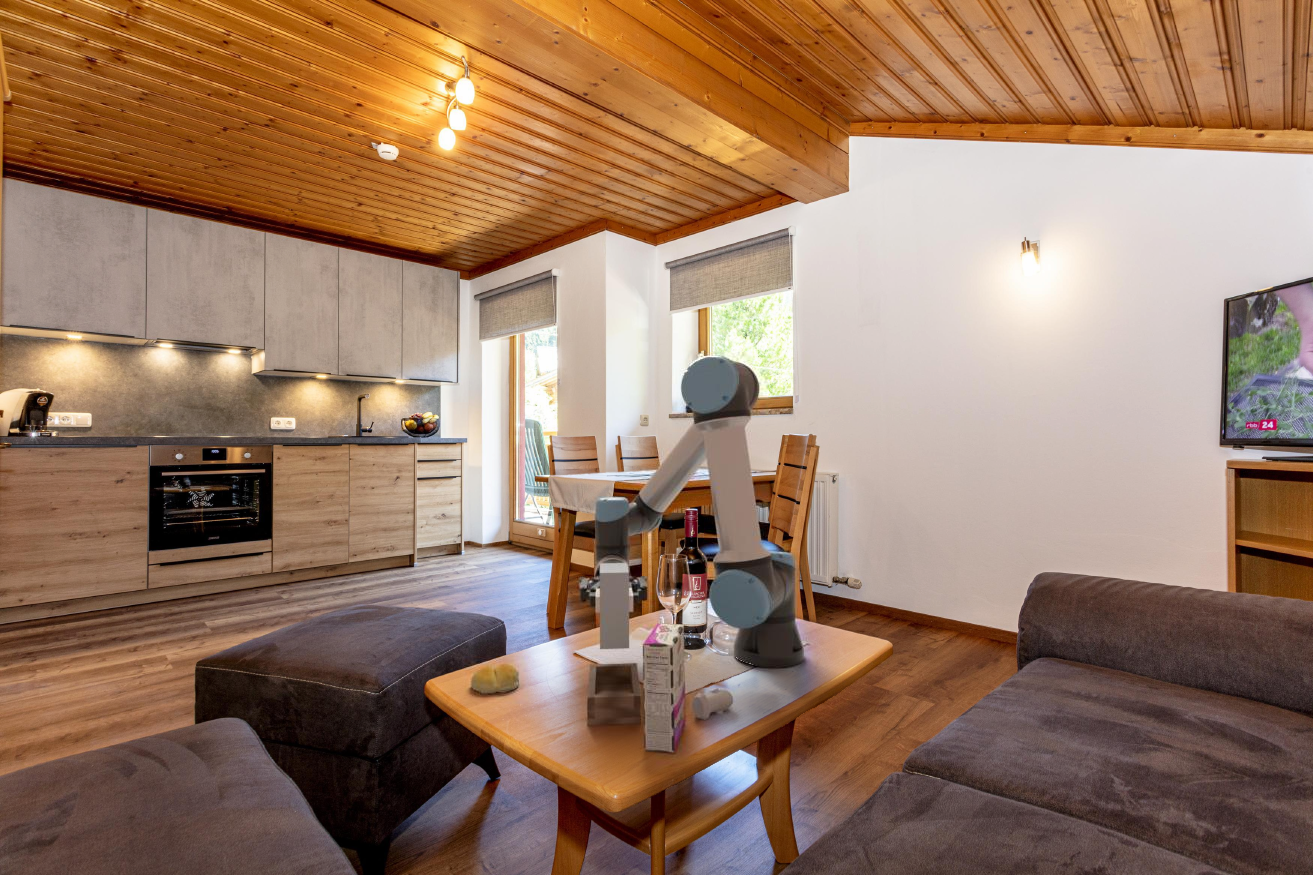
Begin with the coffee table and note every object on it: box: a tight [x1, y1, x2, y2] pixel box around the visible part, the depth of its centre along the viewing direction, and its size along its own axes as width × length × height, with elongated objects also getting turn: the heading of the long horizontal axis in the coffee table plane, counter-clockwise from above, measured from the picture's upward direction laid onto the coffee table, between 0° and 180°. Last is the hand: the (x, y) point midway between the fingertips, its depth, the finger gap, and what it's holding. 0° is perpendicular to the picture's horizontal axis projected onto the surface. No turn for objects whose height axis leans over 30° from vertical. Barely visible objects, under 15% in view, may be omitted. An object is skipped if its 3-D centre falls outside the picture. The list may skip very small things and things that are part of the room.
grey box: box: [599, 563, 630, 650], centre depth 113 cm, size 5×9×13 cm, turn 5°
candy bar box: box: [642, 622, 687, 754], centre depth 101 cm, size 11×5×16 cm, turn 168°
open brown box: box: [586, 662, 642, 726], centre depth 113 cm, size 9×16×4 cm, turn 4°
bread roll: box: [470, 663, 520, 694], centre depth 122 cm, size 8×9×4 cm
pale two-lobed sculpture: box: [691, 687, 734, 721], centre depth 109 cm, size 4×8×5 cm
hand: (614, 604), depth 109 cm, fingers closed on grey box, 5 cm apart
